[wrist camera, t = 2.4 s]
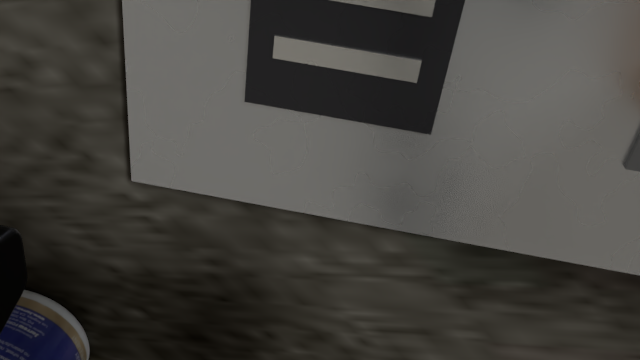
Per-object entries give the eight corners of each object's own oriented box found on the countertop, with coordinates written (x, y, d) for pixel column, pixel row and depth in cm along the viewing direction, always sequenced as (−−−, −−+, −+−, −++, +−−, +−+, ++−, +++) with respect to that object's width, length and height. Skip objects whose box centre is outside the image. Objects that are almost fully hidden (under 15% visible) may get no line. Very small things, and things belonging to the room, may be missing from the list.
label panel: (977, 324, 21) (1004, 348, 20) (140, 169, 22) (127, 185, 21) (1427, -124, 13) (1502, -120, 12) (119, -309, 15) (99, -318, 14)
